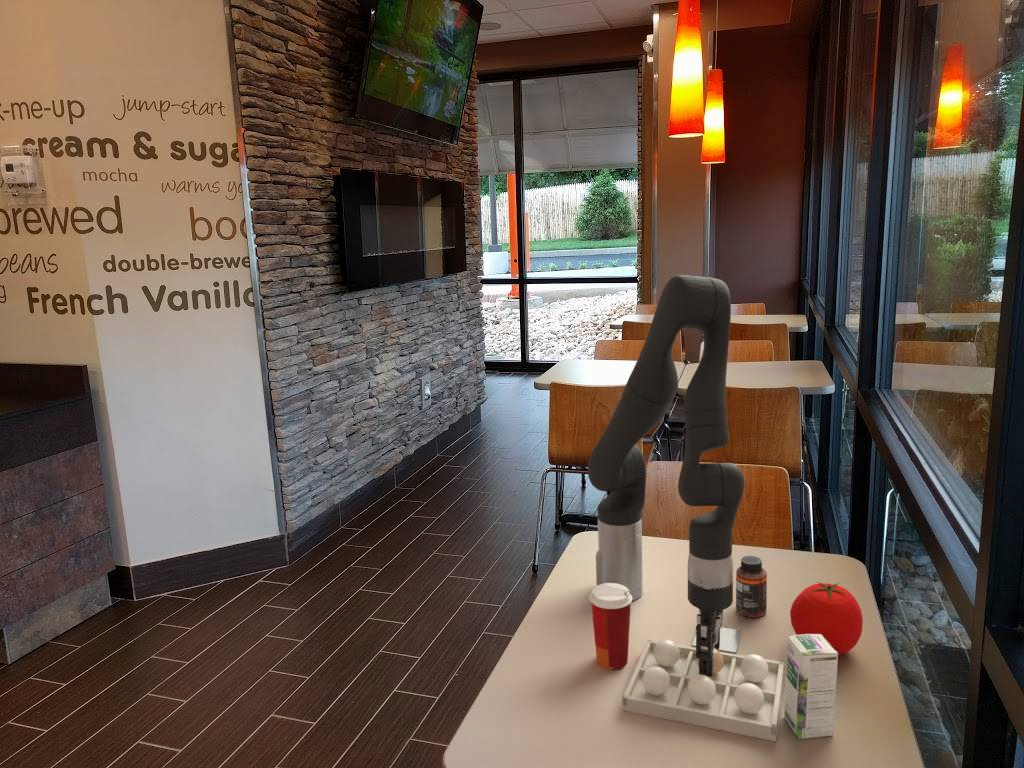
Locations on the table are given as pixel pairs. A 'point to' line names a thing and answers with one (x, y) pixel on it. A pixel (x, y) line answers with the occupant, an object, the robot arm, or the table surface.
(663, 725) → the table surface
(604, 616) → the paper cup
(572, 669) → the table surface
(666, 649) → the white egg back left
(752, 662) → the white egg back right
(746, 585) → the supplement bottle
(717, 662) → the brown egg
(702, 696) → the white egg front middle
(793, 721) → the syrup box
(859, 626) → the tomato
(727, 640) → the slate coaster
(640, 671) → the carton
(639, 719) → the table surface
